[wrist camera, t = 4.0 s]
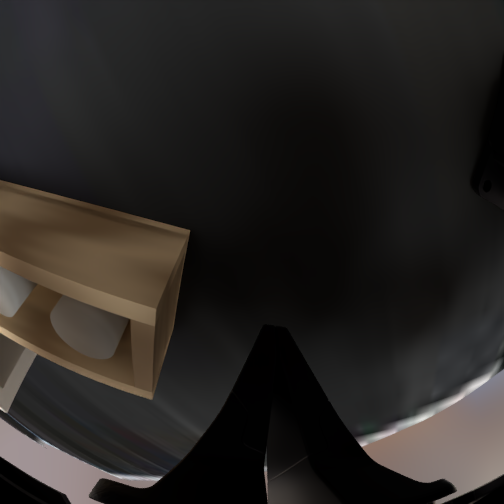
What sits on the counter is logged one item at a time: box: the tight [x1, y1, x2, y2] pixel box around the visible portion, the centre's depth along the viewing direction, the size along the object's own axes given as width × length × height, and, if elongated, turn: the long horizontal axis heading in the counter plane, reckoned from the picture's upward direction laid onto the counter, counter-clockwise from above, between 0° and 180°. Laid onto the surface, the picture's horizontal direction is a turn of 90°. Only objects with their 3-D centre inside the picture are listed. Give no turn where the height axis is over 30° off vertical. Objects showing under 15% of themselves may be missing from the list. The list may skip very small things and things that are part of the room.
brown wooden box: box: [0, 180, 190, 400], centre depth 9 cm, size 10×6×4 cm, turn 74°
